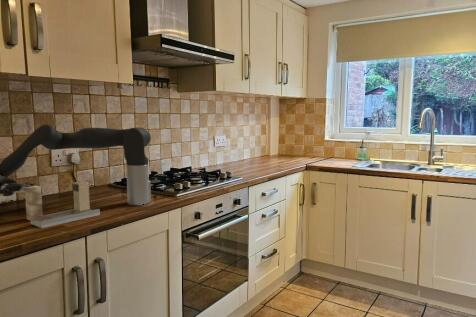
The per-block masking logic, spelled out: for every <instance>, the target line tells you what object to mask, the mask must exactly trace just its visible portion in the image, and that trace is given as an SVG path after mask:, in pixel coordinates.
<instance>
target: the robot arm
mask: <svg viewBox="0 0 476 317" xmlns="http://www.w3.org/2000/svg"><path fill="white" fill-rule="evenodd" d="M151 138H152V137H151V133H150V132H149V131H148V130H147V129H145V128H144V127H130V128H126V129H116V128H107V127H84V128H81V129H79V130H77V131H75V132H68V133H67V132H60V131H58V130H57V129H56V128H54V127H53V126H52V125H50V124H42V125H40V126H38V127H37V128H36V129H35V130H34V131H33V132H32V133H31V134H30V135H29V136H28V137H27V138H26V139H25V140H24V141H22V143H20V145H19V146H17V148H16V149H15V150H14V151H12V152H11V153H10V154H9V155H8V156H6V157H4V158H3V159H4V160H3V159H2V160H3V161H2V160H1V161H2V163H1V164H0V175H1V176H0V196H3V197H10V196H12V195H14V194H17V193H25V187H30V186H35V184H34V183H32V182H27V181H26V182H24V183H23V182H19V183H18V182H17V180H15V179H13V178H11V177H10V176H11V175H13V174H14V173H15V172H17V171H18V170H19V169H21V167H23V165H24V164H25V163H26V161H27V158H28V157H29V155H30V154H31V153H32V151H33V150H35V149H36V148H38V146H43V148H46V149H47V150H51V151H52V150H53V151H56V150H65V149H107V148H113V147H123V154H124V159H125V161H126V162H125V163H126V164H125V165H126V192H127V197H126V198H127V205H129V206H143V204H144V205H147V203H148V204H149V203H152V190H151V188H152V186H151V185H152V184H151V183H152V182H151V180H150V178H149V174H150V172H149V158H148V157H147V156H146V153H145V147H147V146H148V145H149V144H150V143H151V140H152V139H151ZM9 175H10V176H9ZM8 176H9V177H8Z"/></svg>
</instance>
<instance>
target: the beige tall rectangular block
mask: <svg viewBox="0 0 476 317" xmlns="http://www.w3.org/2000/svg"><path fill="white" fill-rule="evenodd" d="M42 195H43V187H41V186H39V185H34V186H30V187H25V191H24V197H25V198H24V199H25V214H26V220H28V221H30V222H31V218H33V217H38V216H43V214H44V212H43V197H42Z"/></svg>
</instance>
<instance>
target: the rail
mask: <svg viewBox="0 0 476 317" xmlns="http://www.w3.org/2000/svg"><path fill="white" fill-rule="evenodd" d="M71 185H72V191H73V192H72V193H73V209H68V210H63V211H59V212H54V213H49V214H45V215H43V216H38V217H33V218H31V221H30V225H33V226H35V227H38V228H40V229H44V228H49V227H53V226H57V225H62V224H67V223H71V222H75V221H80V220H84V219H88V218H92V217H97V216H100V215H101V209H100V208H95V209H91V206H90V186H89V181H84V180H81V181H75V182H72V184H71Z"/></svg>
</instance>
